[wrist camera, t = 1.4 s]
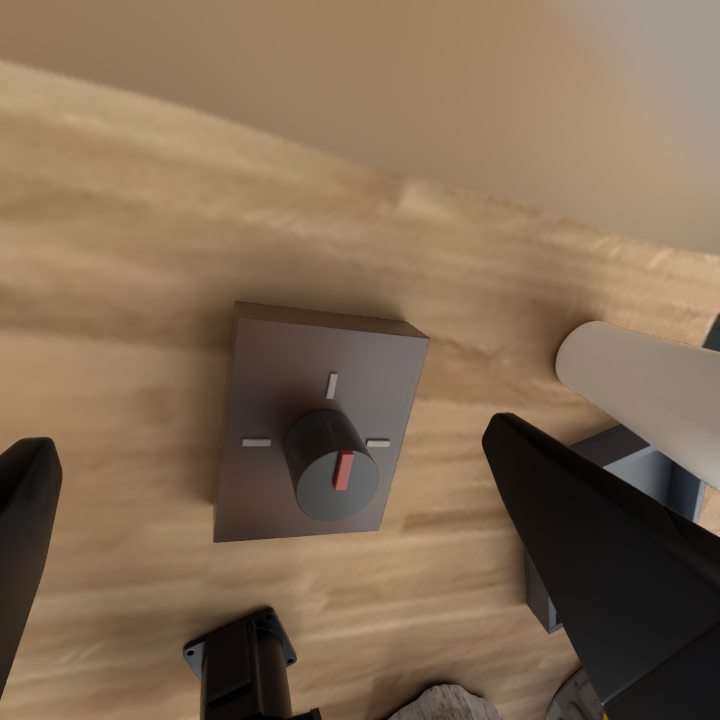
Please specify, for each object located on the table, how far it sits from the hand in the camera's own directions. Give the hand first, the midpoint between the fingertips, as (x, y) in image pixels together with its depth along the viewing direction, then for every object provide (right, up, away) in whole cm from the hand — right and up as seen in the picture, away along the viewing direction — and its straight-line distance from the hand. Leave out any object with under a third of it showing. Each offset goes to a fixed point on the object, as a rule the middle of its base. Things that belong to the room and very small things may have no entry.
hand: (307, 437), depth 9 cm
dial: (-1, -3, +14) cm, 14 cm away
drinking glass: (+17, +2, +22) cm, 28 cm away
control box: (-2, -2, +17) cm, 17 cm away
